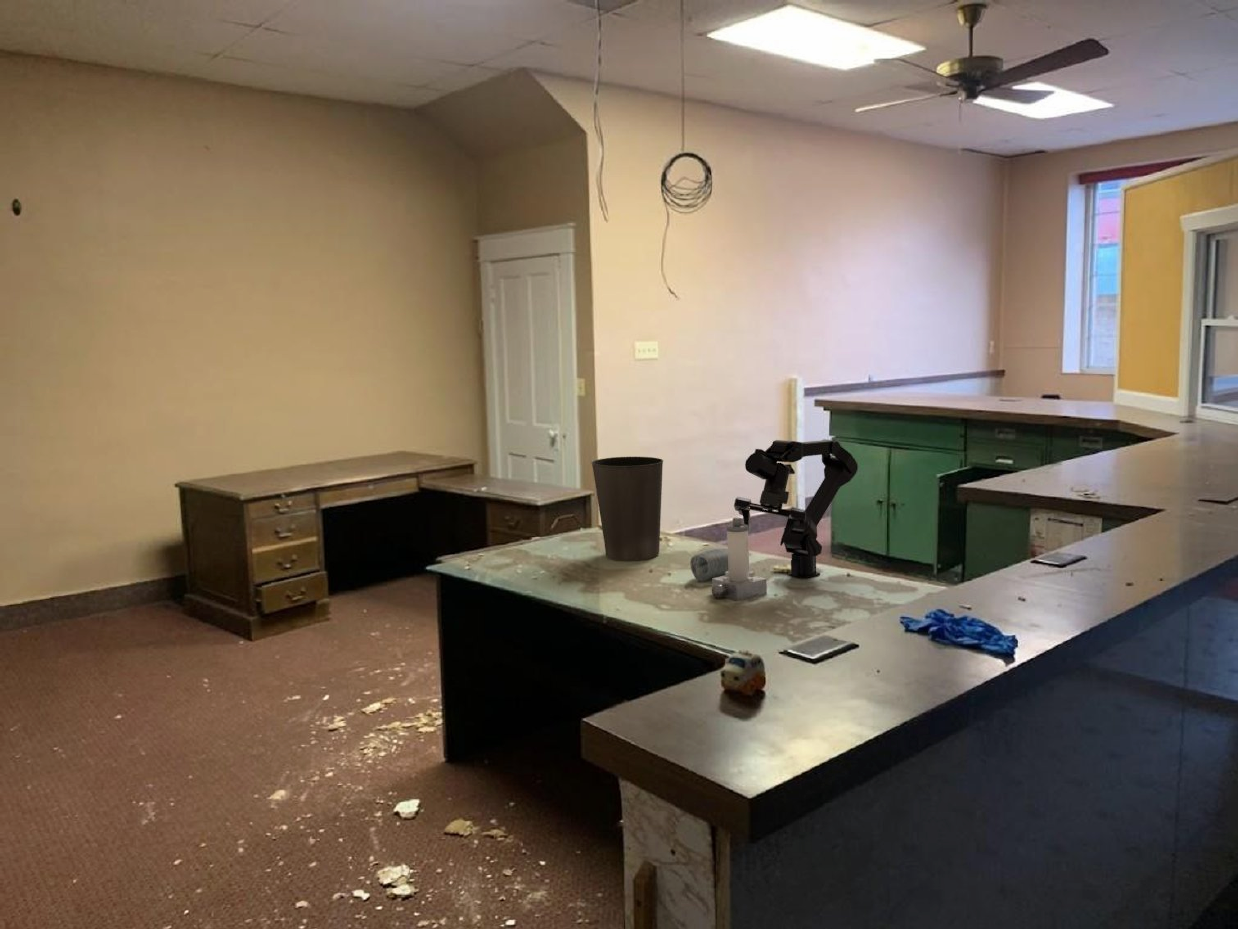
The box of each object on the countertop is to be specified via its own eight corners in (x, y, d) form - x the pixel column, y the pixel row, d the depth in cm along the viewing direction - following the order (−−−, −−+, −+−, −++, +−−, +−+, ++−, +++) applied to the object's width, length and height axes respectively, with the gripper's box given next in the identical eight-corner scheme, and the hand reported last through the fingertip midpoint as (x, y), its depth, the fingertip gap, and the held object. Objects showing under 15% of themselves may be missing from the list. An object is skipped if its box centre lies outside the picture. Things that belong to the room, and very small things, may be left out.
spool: (702, 575, 249) (699, 540, 253) (685, 584, 257) (682, 550, 261) (745, 579, 255) (741, 545, 259) (726, 589, 262) (723, 555, 266)
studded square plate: (741, 586, 248) (741, 568, 248) (766, 593, 240) (766, 575, 239) (703, 595, 241) (702, 576, 241) (727, 603, 233) (727, 584, 232)
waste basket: (582, 553, 298) (577, 460, 294) (636, 543, 308) (631, 453, 304) (627, 568, 275) (621, 468, 271) (683, 557, 285) (678, 460, 281)
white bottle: (747, 575, 244) (745, 515, 242) (751, 580, 238) (749, 519, 236) (726, 576, 243) (724, 517, 241) (730, 582, 238) (728, 521, 236)
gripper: (739, 470, 241) (726, 528, 237) (810, 484, 236) (798, 543, 233) (741, 481, 251) (729, 536, 248) (810, 494, 246) (799, 551, 243)
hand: (763, 541), depth 242 cm, fingers open, 9 cm apart
